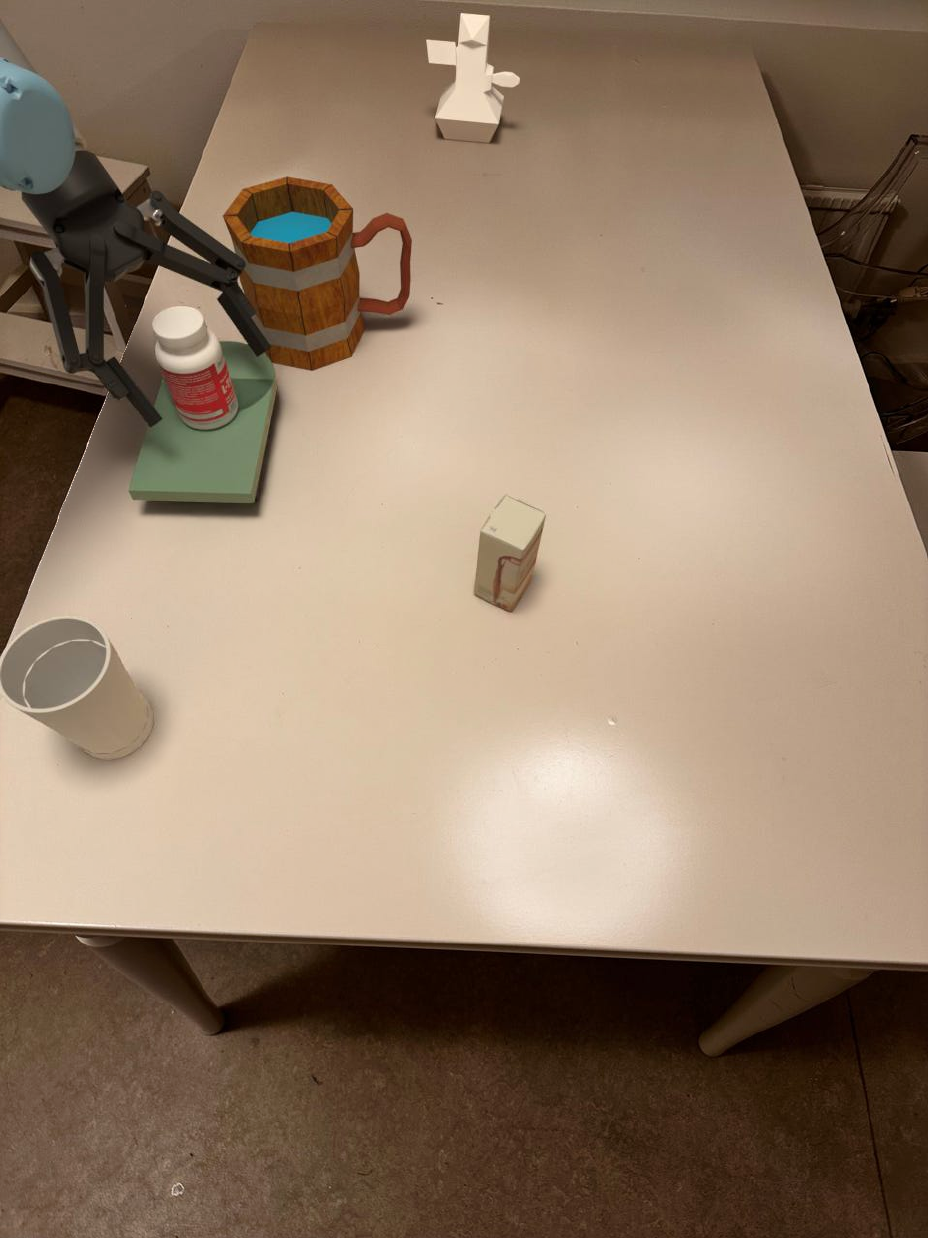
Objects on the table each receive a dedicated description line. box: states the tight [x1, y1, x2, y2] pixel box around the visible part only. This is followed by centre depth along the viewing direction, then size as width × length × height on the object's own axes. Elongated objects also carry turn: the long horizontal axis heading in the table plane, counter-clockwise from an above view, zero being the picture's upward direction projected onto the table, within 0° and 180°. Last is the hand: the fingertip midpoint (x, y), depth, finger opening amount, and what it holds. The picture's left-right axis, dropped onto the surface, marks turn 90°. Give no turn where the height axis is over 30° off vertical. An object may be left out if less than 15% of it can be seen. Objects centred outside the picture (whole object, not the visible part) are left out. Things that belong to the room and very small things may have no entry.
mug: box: [222, 175, 413, 371], centre depth 84 cm, size 20×14×15 cm
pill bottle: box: [151, 305, 238, 430], centre depth 73 cm, size 6×6×11 cm
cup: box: [0, 614, 155, 761], centre depth 59 cm, size 8×8×12 cm
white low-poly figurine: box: [426, 12, 521, 144], centre depth 109 cm, size 8×14×14 cm, turn 83°
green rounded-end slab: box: [127, 340, 278, 504], centre depth 80 cm, size 22×12×4 cm, turn 179°
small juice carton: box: [473, 493, 547, 612], centre depth 68 cm, size 5×4×10 cm
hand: (212, 386), depth 73 cm, fingers open, 13 cm apart
